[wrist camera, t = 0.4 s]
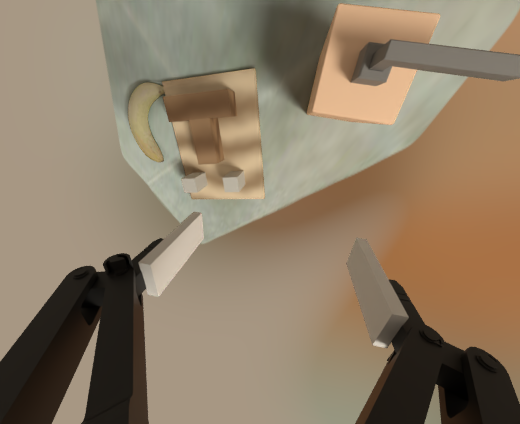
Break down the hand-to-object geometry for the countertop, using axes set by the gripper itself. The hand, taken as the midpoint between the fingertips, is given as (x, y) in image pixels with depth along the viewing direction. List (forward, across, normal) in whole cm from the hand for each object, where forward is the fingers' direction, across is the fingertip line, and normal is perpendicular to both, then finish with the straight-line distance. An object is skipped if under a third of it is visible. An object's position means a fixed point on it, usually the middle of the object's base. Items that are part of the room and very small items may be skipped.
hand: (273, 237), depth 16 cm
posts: (+25, -15, -4) cm, 30 cm away
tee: (+26, -16, +5) cm, 31 cm away
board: (+26, -15, +3) cm, 31 cm away
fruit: (+27, -30, +5) cm, 40 cm away
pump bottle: (+27, +9, +14) cm, 31 cm away
